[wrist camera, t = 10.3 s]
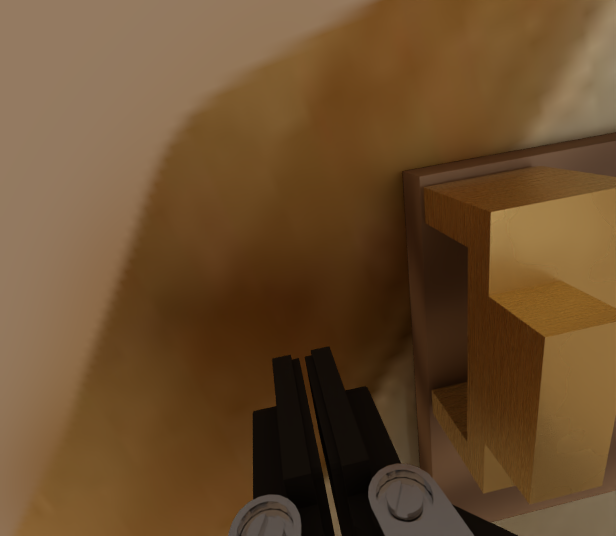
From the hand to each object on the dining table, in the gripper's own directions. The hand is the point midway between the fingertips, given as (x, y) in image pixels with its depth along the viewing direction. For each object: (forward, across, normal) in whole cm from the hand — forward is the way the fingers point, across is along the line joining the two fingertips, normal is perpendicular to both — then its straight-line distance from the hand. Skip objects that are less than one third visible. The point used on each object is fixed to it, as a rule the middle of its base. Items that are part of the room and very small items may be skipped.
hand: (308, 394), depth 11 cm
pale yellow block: (+3, -7, 0) cm, 7 cm away
